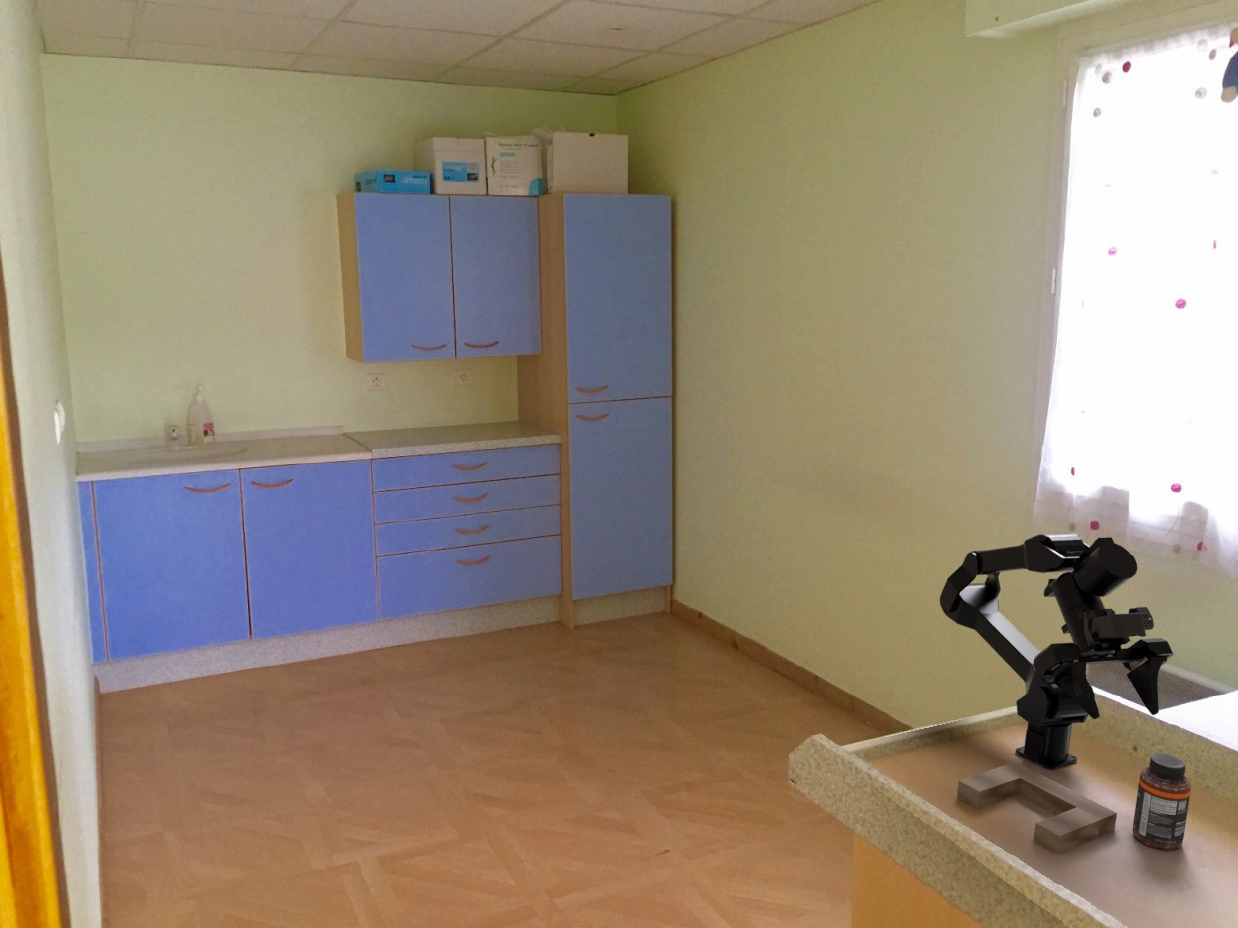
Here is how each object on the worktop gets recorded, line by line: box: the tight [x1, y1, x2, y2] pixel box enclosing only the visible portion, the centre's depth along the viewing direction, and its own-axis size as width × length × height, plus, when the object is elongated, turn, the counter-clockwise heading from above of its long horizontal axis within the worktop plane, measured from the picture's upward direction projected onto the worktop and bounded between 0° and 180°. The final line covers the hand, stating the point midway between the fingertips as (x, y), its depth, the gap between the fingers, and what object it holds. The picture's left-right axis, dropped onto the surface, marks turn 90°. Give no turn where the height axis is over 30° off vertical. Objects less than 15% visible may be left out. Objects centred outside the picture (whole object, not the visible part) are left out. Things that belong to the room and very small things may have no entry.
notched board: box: [956, 761, 1118, 855], centre depth 141 cm, size 12×16×2 cm
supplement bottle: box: [1132, 752, 1192, 851], centre depth 135 cm, size 6×6×11 cm
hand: (1126, 715), depth 141 cm, fingers open, 9 cm apart
